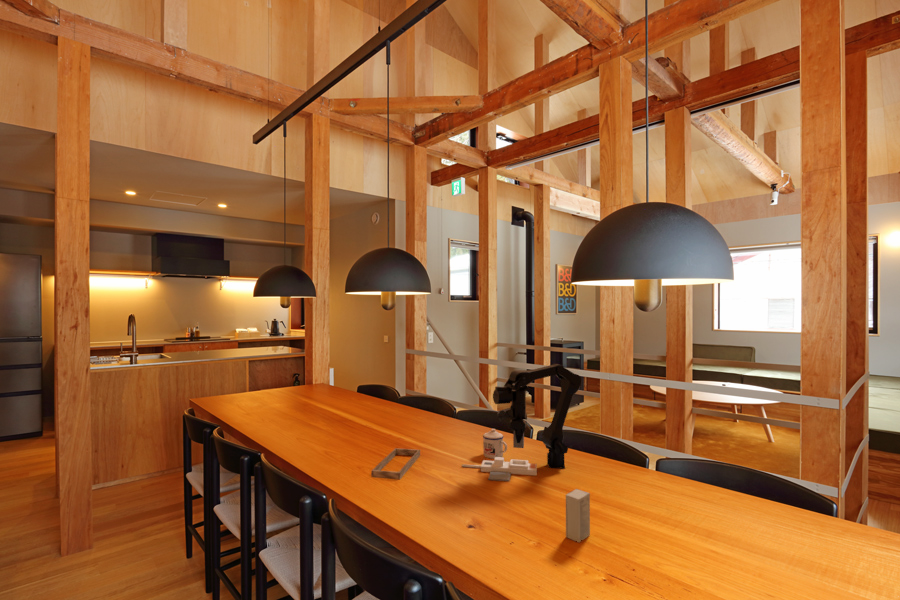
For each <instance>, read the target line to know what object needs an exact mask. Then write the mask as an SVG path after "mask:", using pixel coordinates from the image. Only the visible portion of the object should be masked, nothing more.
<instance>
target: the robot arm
mask: <svg viewBox="0 0 900 600" xmlns="http://www.w3.org/2000/svg"><path fill="white" fill-rule="evenodd" d="M553 376H556V377H557V378H558V379H559V380H560V384H559V385H560V395H559V399H558V402H557V405H556V408H555V411H554V414H553V417H552V419H551V420H552V421H551V423H550V424H549V426H544V428H543V431H542V434H541V441H542V443H543V445H545V448H546V449H548V452H547V453H546V455H547V456H546V458H547V459H546V461H547V465H548V468H555V469H566V466H565V454H567V453H568V451H569V447H568V446H567V445H566V444H565V443H564V431H563V429H564V424H565V422H566V420H567V415H568V413H569V409H570V406H571V402H572V399H573V398H574V397H573V396H574V395H575V394H576V393H577V392H578V391H579V389H580V387H581V385H582V382H583V380H582V378H581V376H580V375H579V374H577V373H574V372H572V371H571V370H569V369H567V368H565V366H563V365H562V364H558V363H553V364H551V365H546V366H542V367H537V368H535V369H533V368H532V369H531V370H530V369H527V370H525V369H524V370H523V369H519V370H512V371H511V372H510V374H509V378H508V379H507V381H505V383H504V385H503V386H495V387H494V390H493V393H492V400H493V403H494V404H495V405H505V404H510V407H507V408H505V409H500V410H497V413H496V414H497V418H498V420H499V421H501V422H502V421H504V420H507V419H510V421H509V429H511V430H513V432H514V431H515V435H516V440H517V443H520V441H521V439H522V436H523V434H524V435H525V431H526V429H527V420H528V413H527V408H526V407H527V402H526V401H527V397H526V395H527V392H530V391H531V388H530V387H528V385H530V384H531V383H532V382H533V381H536V380H541V379H544V378H549V377H553Z"/></svg>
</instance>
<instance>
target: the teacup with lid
mask: <svg viewBox="0 0 900 600" xmlns="http://www.w3.org/2000/svg"><path fill="white" fill-rule="evenodd" d="M482 437H483V441H482V443H483V445H482V446H483V456H484V457H485V458H488V459H495V457H503V455H504V454H505V453H506V452H507V450H508V443H506V442H505V441H504V435H503V434H502V433H500V432H498V431H497V430H496V428H491V429H490V431H488V432H485V433H484V434H482Z"/></svg>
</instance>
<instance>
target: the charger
mask: <svg viewBox="0 0 900 600" xmlns="http://www.w3.org/2000/svg"><path fill="white" fill-rule="evenodd" d="M512 437H513V440H512V441H513V442H512V443H513V447H512V448H516V449H517V448H518V449H524V448H525V447H524V446H525V433H524V434H523V436H522V439H521V441H520V443H517V440H516V435H515V431H514V430H513V434H512Z"/></svg>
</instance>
